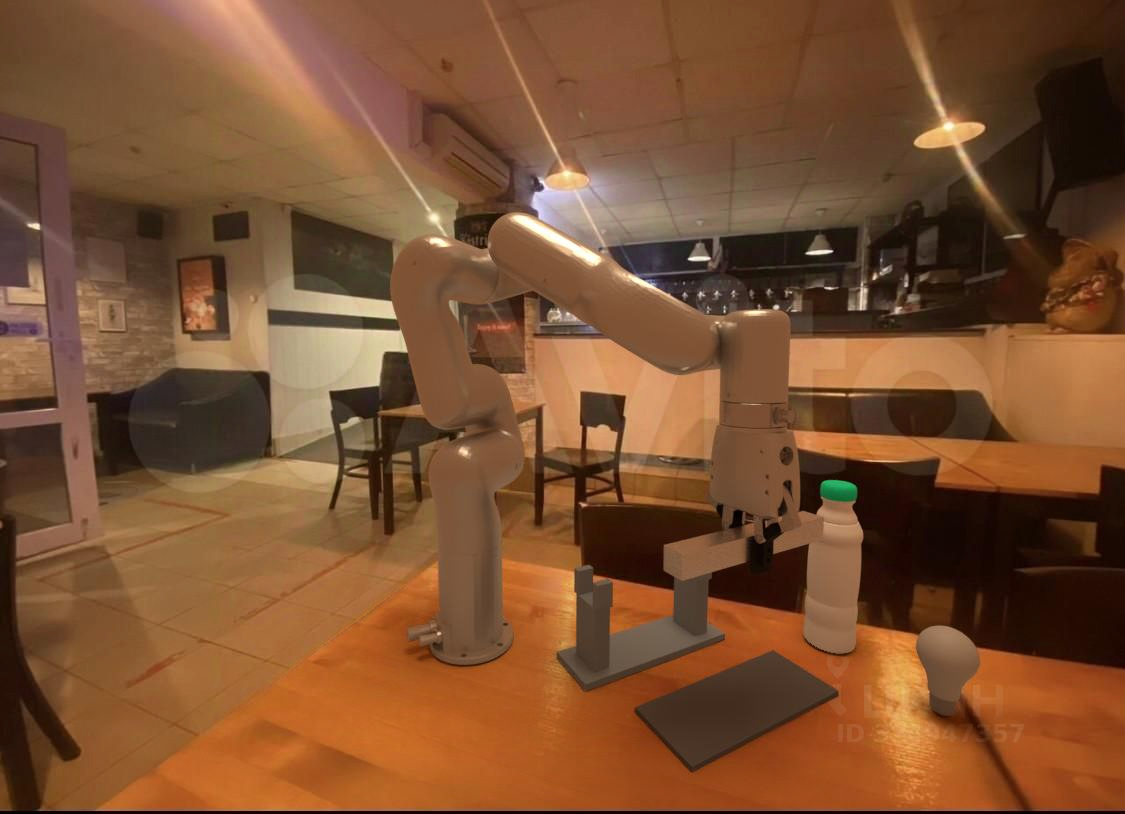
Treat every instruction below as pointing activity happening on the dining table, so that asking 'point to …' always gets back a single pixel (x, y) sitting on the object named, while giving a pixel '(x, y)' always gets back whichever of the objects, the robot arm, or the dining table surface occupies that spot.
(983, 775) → the dining table surface
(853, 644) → the water bottle
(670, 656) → the rack
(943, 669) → the lightbulb
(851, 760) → the dining table surface
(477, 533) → the robot arm
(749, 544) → the rail
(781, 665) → the mat
